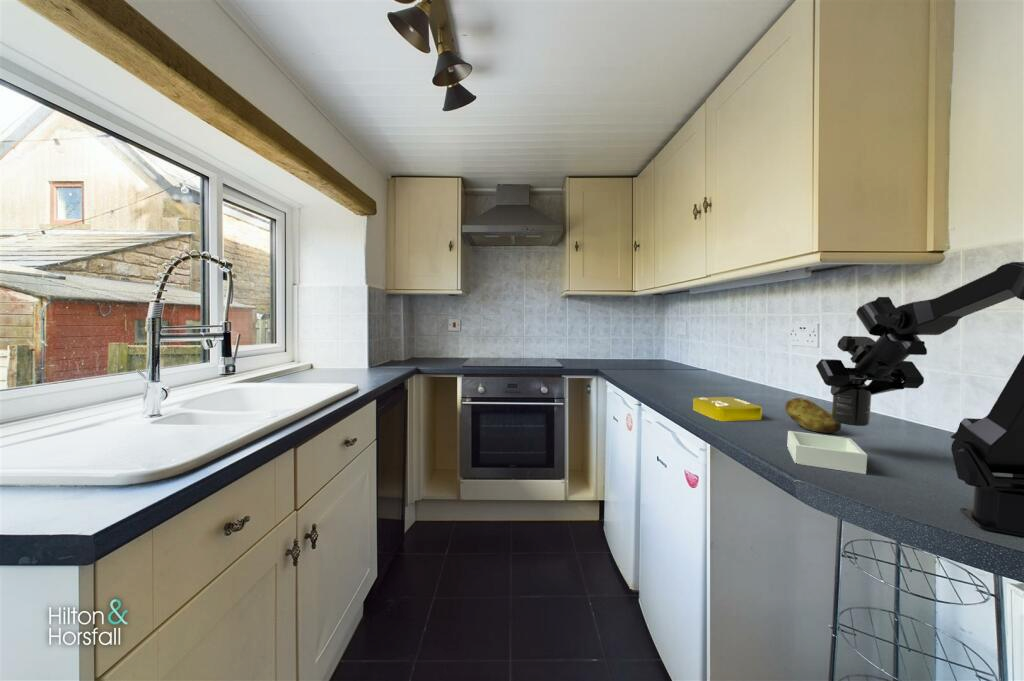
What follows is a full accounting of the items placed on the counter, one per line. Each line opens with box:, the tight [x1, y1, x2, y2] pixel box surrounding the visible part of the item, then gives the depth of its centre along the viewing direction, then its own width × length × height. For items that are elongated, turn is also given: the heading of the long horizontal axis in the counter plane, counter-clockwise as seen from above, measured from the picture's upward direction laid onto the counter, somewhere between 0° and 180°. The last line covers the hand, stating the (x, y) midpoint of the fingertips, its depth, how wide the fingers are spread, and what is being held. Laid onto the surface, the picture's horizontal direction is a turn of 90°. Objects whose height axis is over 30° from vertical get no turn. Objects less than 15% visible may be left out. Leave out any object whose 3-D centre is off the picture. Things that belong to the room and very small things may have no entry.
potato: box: [784, 397, 842, 434], centre depth 111 cm, size 8×13×8 cm, turn 8°
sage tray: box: [786, 430, 868, 475], centre depth 88 cm, size 12×12×4 cm
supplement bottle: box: [831, 379, 872, 427], centre depth 93 cm, size 7×7×12 cm
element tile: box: [692, 396, 763, 422], centre depth 126 cm, size 15×15×5 cm
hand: (848, 394), depth 94 cm, fingers closed on supplement bottle, 7 cm apart
